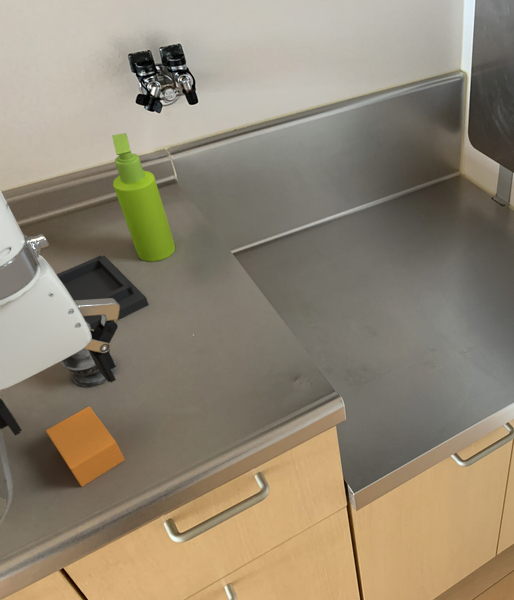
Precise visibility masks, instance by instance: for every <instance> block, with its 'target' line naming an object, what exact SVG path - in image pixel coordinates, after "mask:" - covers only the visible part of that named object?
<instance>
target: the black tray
mask: <svg viewBox="0 0 514 600" xmlns="http://www.w3.org/2000/svg"><path fill="white" fill-rule="evenodd" d="M56 275H57V276H58V278H59V279H60V281H61V282H62V283H63V285H64V286H65V288H66V289H67V291H68V292H69V294H70V296H71V297H72V299H73V301H74V300H90V299H105V298H113V299H114V300H115V301H116V302H117V303H118V304H119V305H120V311H119V316H118V320H117V321H119V320H121V319H123V318H125V317H127V316H129V315H131V314H133V313H135V312H137V311H139V310H141V309H143V308H145V307H147V306H149V302H148V299H147V297H146V296H145V294H143V293H142V291H140V289H139V288H137V286H135V284H134V283H132V281H130V279H129V278H128V277H127V276H126V275H125V274H124V273H123V272H121V270H120V269H118V267H117V266H116V265H115V264H113V262H112V261H111V260H110V259H109V258H108V257H107V256H106V255H105V254H104V255H98V256H96V257H94V258H91V259H89V260H87V261H84V262H81V263H80V264H78V265H75V266H72V267H70V268H68V269H66V270H63V271H61V272H59V273H56ZM101 317H102V316H101V315H94V316H83V318H84V320H85V322H87V323H88V324H89V325H90V329H95V327H96V326H97V324H98V322H99V320H100V318H101Z"/></svg>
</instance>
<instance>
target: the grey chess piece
mask: <svg viewBox="0 0 514 600" xmlns="http://www.w3.org/2000/svg"><path fill="white" fill-rule="evenodd" d="M86 323H87V322H86ZM87 325H88V327H89V328H90V325H89V324H88V323H87ZM109 353H110V354H111V349H110V350H109ZM114 363H115V365H116V362H115V361H114ZM60 364H61V366H62V367H63V368H64V369H67V370H68V371H69V372H70V373H72V381H73V383H75V385H77V386H79V387H82V388H92V387H96V386H97V387H98V386H100V385H102V384H103V383H105V382H108V381H107V380H106V379H105V377H104V376H103V375H102V374H101V372H100V371H99V370H98V368H97V366H96V364H95V362H94V360H93V359H92V357H91V355H90V353H89V351H88V350H87V349H82V350H80V351H79V352H77V353H75V354H73V355H71V356H70V357H68V358H66V359H64V360H62V361H60ZM116 369H117V365H116V367H115V368H113V369H111V371H112V373H113V375H114V374H115V373H116Z"/></svg>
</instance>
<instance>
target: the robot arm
mask: <svg viewBox="0 0 514 600" xmlns="http://www.w3.org/2000/svg"><path fill="white" fill-rule="evenodd" d="M48 248H50V243H49V241H48V240H47V238H46V237H45V235H44V234H43V233H40V234H38V235H35V236H34V235H30V236H28V235H27V234H24V233H23V232H22V229H21V228H20V225H19V223H18V222H17V219H16V217H15V216H14V214H13V212H12V210H11V208H10V205H9V204H8V202H7V200H6V198H5V196H4V195H3V193H2V189H0V430H2V429H4V428H7V427H8V428H9V430H10V431H11V432H12V434H13V435H14V436H15V437H16V436H18V435H20V434H21V432H22V429H21V427H20V425H19V423H18V421H17V420H16V418H15V417H14V415H13V413H12V412H11V410H10V409H9V408H8V406H7V405H6V403H5V402H4V400H3V399H2V396H3V393H4V391H5V390H6V389H8V388H11V387H12V386H15V385H17V384H19V383H21V382H23V381H25V380H27V379H29V378H30V377H33V376H34V375H37V374H39V373H41V372H42V371H44V370H46V369H47V370H48V368H51V367H52V366H55V365H56V364H59V363H61V361H62V360H64V359H66V358H68V357H70V356H71V355H73V354H75V353H77V352H79V351H80V350H82V349H87V350H88V351H89V353H90V355H91V357H92V359H93V360H94V362H95V364H96V366H97V368H98V370H99V371H100V372H101V374H102V375H103V376H104V377H105V379H106V380H107V381H106V382H108V383H113V382H115V381H116V380H117V379H116V377H115V375H114V374H113V373H112V371H111V369H113V368H115V367H116V368H117V365H115V364H116V362H115V360H114V359H113V357H112V354H111V352H110V353H109V350H110V351H111V348H112V346H111V341H112V339H113V338H114V335H115V334H116V331H117V330H118V321H119V320H118V316H119V311H120V305H119V304H118V303H117V302H116V301H115V300H114V299H113V298H105V299H90V300H74V301H73V299H72V297H71V296H70V294H69V292H68V291H67V289H66V288H65V286H64V285H63V283H62V282H61V281H60V279H59V278H58V276H57V275H56V274H57V273H56V272H55V270H54V269H53V267H52V266H51V264H50V263H49V262H48V261H47V260H46V259H45V258H44V257H43V256H42V255H40V253H42V252H43V250H46V249H48ZM94 315H101V316H102V317H101V318H100V320H99V322H98V324H97V326H96V327H95V329H90V328H89V327H88V325H87V323H86V322H85V320H84V318H83V316H94ZM114 362H115V363H114Z"/></svg>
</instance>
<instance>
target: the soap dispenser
mask: <svg viewBox="0 0 514 600" xmlns="http://www.w3.org/2000/svg"><path fill="white" fill-rule="evenodd" d="M111 137H112V142H113V146H114V150H115V154H116V155H117V156H116V158H114V164H115V167H116V170H117V172H118V176H117V177H115V178H114V180H113V181H112V186H113V189H114V192H115V194H116V198H117V200H118V203H119V206H120V208H121V211H122V214H123V217H124V220H125V223H126V226H127V228H128V231H129V234H130V237H131V239H132V243H133V245H134V249H135V252H136V254H137V256H138V258H139V259H140V260H141V261H145V262H151V263H152V262H159V261H163V260H165V259H167V258H169V257H170V256H172V255H173V254H174V252H175V251H176V244H175V241H174V237H173V233H172V231H171V227H170V224H169V221H168V217H167V214H166V211H165V207H164V204H163V201H162V197H161V194H160V191H159V187H158V184H157V181H156V177H155V174H154V173H152V172H151V171H148V170H144V168H143V166H142V162H141V159H140V156H139V155H138V154H137V153H132V149H131V147H130V143H129V139H128V135H127V132H124V133H118V134H113V135H112V136H111Z"/></svg>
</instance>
